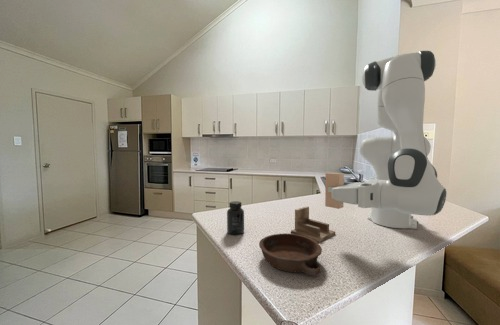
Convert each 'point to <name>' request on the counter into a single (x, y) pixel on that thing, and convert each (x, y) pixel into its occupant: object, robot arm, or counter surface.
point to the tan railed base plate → (310, 226)
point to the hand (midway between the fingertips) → (331, 188)
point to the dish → (292, 253)
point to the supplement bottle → (235, 218)
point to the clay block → (333, 181)
